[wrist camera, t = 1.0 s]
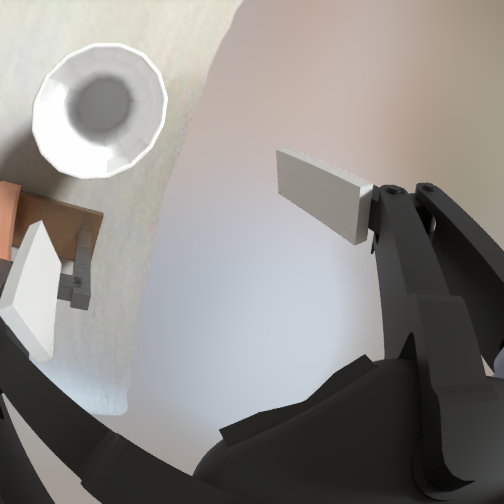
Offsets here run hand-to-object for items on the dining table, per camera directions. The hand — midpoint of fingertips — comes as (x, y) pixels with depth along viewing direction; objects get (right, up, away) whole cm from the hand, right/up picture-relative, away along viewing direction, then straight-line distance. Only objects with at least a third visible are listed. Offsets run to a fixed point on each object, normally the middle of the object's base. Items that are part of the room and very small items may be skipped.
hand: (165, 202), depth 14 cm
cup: (-15, +17, +17) cm, 28 cm away
